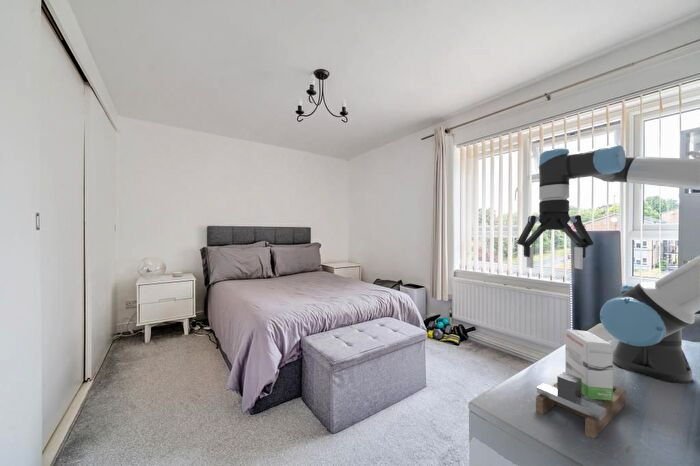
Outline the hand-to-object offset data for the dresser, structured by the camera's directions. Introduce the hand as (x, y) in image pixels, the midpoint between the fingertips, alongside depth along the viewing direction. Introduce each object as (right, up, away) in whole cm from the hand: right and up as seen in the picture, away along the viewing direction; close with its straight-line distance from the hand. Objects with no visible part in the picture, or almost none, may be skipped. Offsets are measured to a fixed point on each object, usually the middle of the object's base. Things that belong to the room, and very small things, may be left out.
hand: (553, 268), depth 86 cm
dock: (-14, -26, -27) cm, 40 cm away
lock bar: (-20, -23, -31) cm, 43 cm away
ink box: (-11, -24, -25) cm, 37 cm away
